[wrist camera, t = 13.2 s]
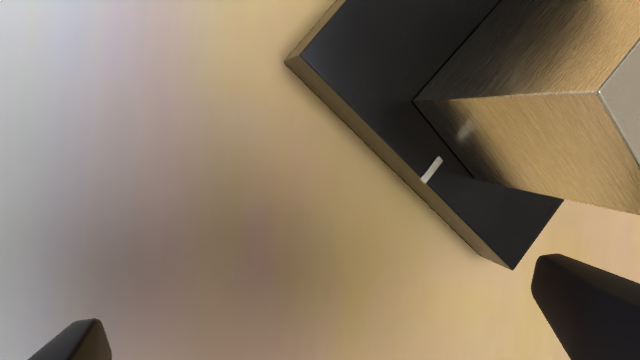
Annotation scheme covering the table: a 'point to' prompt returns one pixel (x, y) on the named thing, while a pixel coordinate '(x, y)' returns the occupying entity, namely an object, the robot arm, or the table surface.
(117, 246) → the table surface
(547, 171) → the brushed aluminum block
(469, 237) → the dial plate
